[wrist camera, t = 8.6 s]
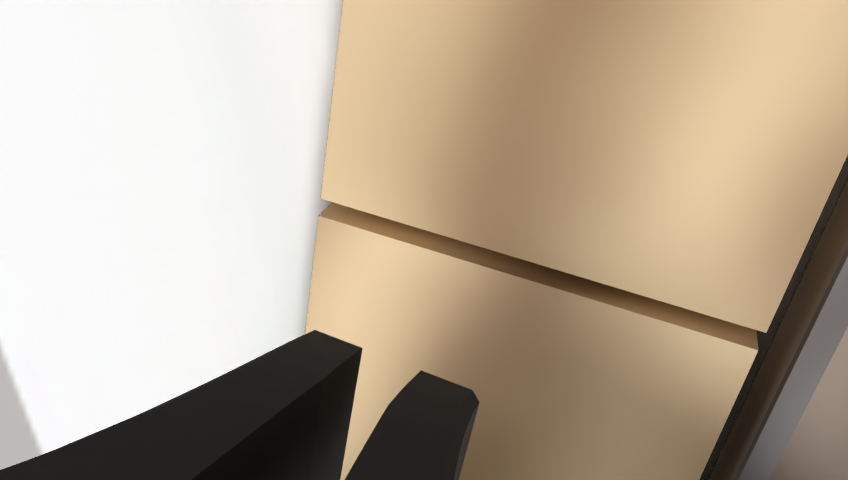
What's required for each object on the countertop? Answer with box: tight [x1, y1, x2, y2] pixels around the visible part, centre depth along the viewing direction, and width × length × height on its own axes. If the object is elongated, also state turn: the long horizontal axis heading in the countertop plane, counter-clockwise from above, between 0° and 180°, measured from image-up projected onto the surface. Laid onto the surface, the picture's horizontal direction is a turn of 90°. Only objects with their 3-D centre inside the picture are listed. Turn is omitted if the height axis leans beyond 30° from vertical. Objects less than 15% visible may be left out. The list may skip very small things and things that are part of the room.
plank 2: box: [305, 202, 758, 480], centre depth 19 cm, size 9×11×2 cm
